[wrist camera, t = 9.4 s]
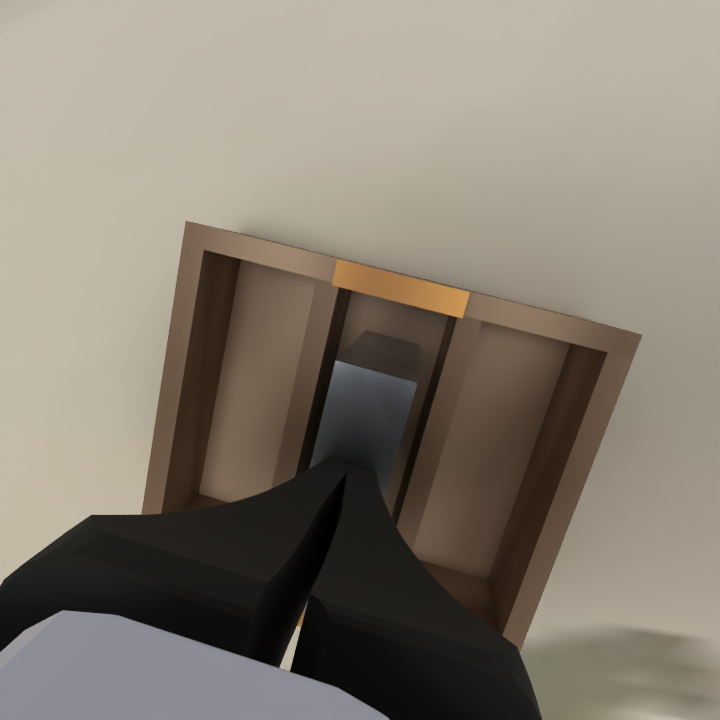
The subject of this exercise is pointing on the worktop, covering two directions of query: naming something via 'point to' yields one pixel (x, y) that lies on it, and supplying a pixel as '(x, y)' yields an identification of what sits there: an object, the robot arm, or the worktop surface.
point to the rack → (425, 419)
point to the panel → (368, 404)
